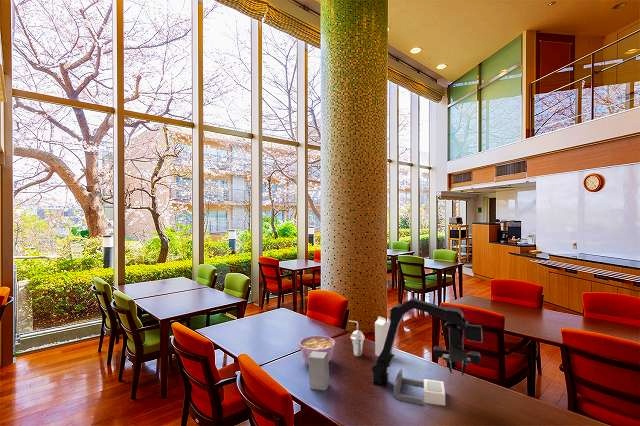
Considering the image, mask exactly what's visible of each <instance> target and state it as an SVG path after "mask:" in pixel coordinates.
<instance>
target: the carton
mask: <svg viewBox="0 0 640 426" xmlns="http://www.w3.org/2000/svg"><path fill="white" fill-rule="evenodd" d="M423 381H424V387H423V394H424V395H423V399H424V400H423V401H424V404H431V405H437V406H438V405H439V406H446V391H445V385H444V381H442V380H441V381H440V380H433V379H428V378H427V379H425V378H423Z"/></svg>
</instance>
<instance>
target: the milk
mask: <svg viewBox="0 0 640 426" xmlns="http://www.w3.org/2000/svg"><path fill="white" fill-rule="evenodd" d="M389 326H390V322H388V321H387V319H386V317H385V318H384V317H382V316H379V315H378V316H377V320H376V321H375V322H374V340H375V341H374V342H375V345H374V346H375V347H374V349H375V351H374V353H375V356H377V357H379V355H380V354H381V352H382V350H383V347H384V344H385V340H386V337H387V333H388V330H389Z"/></svg>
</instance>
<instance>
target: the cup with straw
mask: <svg viewBox="0 0 640 426" xmlns="http://www.w3.org/2000/svg"><path fill="white" fill-rule="evenodd" d="M348 322H351V323H356V330H354V331H353V332H352V333H351V335H350V337H349V338H350V339H351V342H352V349H353V350H352V351H353V355H354V356H356V357H361V356H363V355H362V354H363V345H364V340H365V339H366V337H365V335H364V334H363V332H362V331H361V330H359V322H358V321H356V320H350V319H348Z"/></svg>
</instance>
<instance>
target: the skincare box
mask: <svg viewBox="0 0 640 426" xmlns="http://www.w3.org/2000/svg"><path fill="white" fill-rule="evenodd" d="M307 364H308V377H309V388H310V389H312V390H320V391H324V392H325V391H327V389H328V387H329V385H330V368H329V362H328V353H327V352H316V351H312V353H311V354H310V355H309V356H308V363H307Z"/></svg>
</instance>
